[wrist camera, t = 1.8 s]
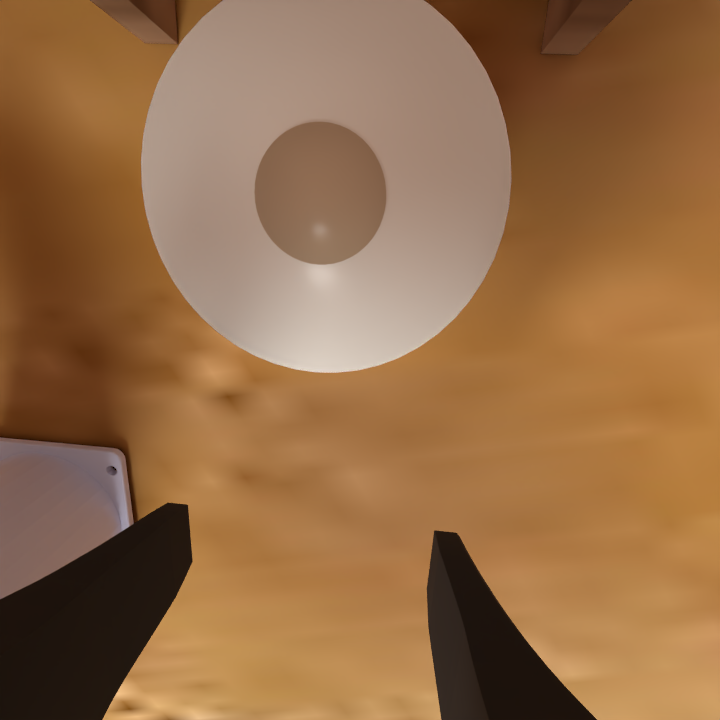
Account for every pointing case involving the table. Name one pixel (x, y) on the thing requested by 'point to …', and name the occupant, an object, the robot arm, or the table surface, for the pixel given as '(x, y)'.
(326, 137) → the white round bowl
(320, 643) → the table surface
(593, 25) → the cradle
